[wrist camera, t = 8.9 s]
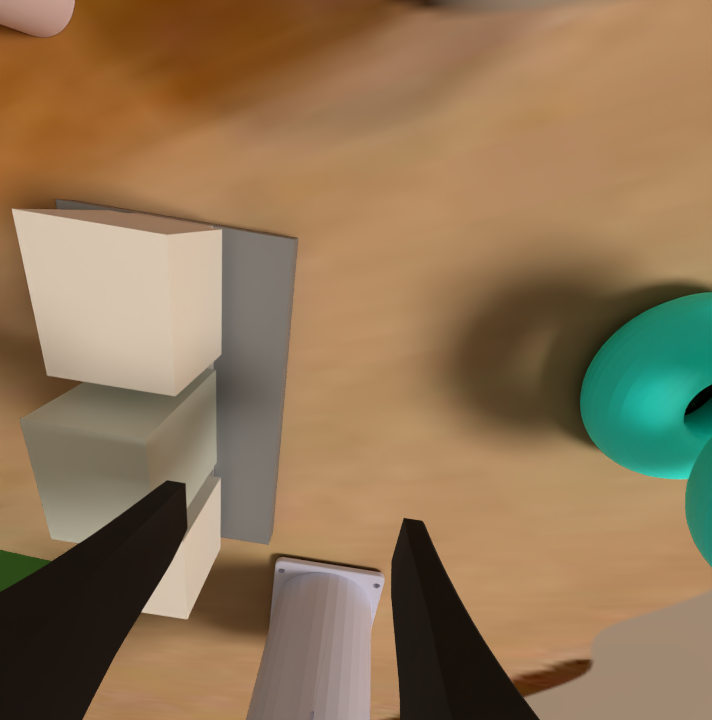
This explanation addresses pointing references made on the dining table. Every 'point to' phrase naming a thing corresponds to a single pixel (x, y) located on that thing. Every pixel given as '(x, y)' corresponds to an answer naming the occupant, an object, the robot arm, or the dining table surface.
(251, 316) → the plate
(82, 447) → the block
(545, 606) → the dining table surface
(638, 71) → the dining table surface
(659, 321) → the donuts
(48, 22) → the smoothie
